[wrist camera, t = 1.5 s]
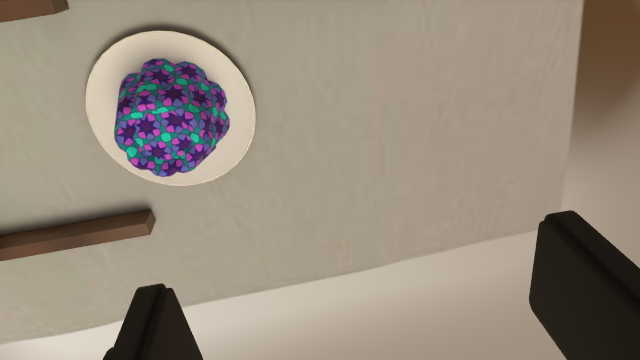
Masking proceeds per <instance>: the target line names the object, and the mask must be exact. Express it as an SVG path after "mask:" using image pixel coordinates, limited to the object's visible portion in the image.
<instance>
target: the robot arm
mask: <svg viewBox="0 0 640 360" xmlns="http://www.w3.org/2000/svg"><path fill="white" fill-rule="evenodd" d="M529 302H530V306H531V309H532V311H533V312H534V314H535V315H536V316H537V318H538V319H539V321H540V322H541V324H542V325H543V326H544V328H545V329H546V331H547V332H548V334H549V335H550V336H551V338H552V339H553V340H554V342H555V343H556V345H557V346H558V348H559V349H560V350H561V352H562V353H563V355H564V356H565V357H566V359H567V360H640V268H638V267H637V266H636V265H635V264H634V263H633V262H632V261H631V260H630V259H628V258H627V257H626V256H625V255H624V254H623V253H622V252H620V251H619V250H618V249H617V248H616V247H615V246H614V245H612V244H611V243H610V242H609V241H608V240H607V239H606V238H605V237H603V236H602V235H601V234H600V233H599V232H598V231H597V230H595V229H594V228H593V227H592V226H591V225H590V224H589V223H587V222H586V221H585V220H584V219H583V218H582V217H581V216H579V215H578V214H577V213H576V212H574V211H571V210H570V211H563V212H558V213H552V214H548V215H546V217H545V219H544V221H542V222H540V223H539V227H538V235H537V242H536V250H535V257H534V264H533V272H532V280H531V287H530V294H529ZM103 360H203V358H202V355H201V353H200V350H199V348H198V346H197V343H196V341H195V339H194V336H193V334H192V332H191V330H190V327H189V325H188V323H187V320H186V318H185V316H184V314H183V311H182V309H181V306H180V304H179V302H178V299H177V297H176V295H175V292H174V291H173V289H172V288H166V287H165V285H164V284H155V285H150V286H144V287H139V288H138V289H137V290H136V292H135V295H134V297H133V300H132V302H131V305H130V307H129V310H128V312H127V315H126V317H125V320H124V322H123V325H122V327H121V330H120V332H119V335H118V338H117V340H116V342H115V345H114V347H112V348H110V349H109V350H108V351H107V352H106V354H105V356H104V358H103Z"/></svg>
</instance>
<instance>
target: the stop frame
mask: <svg viewBox="0 0 640 360" xmlns="http://www.w3.org/2000/svg"><path fill="white" fill-rule="evenodd" d="M68 9H69V8H68V5H67V3H66V0H0V23H1V22H7V21H13V20H20V19H26V18H32V17H38V16H45V15H51V14H56V13H59V12H62V11H65V10H68ZM155 221H156V220H155V218H154V215H153V213H152V210H146V211H140V212H135V213H129V214H123V215H118V216H112V217H106V218H101V219H95V220H89V221H84V222H78V223H72V224H67V225H61V226H55V227H50V228H44V229H38V230H33V231H27V232H21V233H16V234H10V235H4V236H0V261H5V260H10V259H16V258H22V257H27V256H33V255H38V254H44V253H50V252H55V251H61V250H66V249H72V248H78V247H83V246H89V245H95V244H100V243H106V242H111V241H117V240H123V239H128V238H134V237H139V236H145V235H150V234H151V232H152V229H153V227H154V224H155Z"/></svg>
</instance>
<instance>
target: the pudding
mask: <svg viewBox="0 0 640 360" xmlns="http://www.w3.org/2000/svg"><path fill="white" fill-rule="evenodd" d="M86 110H87V115H88V120H89V123H90V125H91V127H92V130H93V132H94V134H95V136H96V138H97V139H98V141H99V142H100V144H101V146H102V147H103V148H104V149H105V150H106V151H107V153H108V154H109V155H110V156H111V157H112V158H113V159H114V160H115V161H117V162H118V163H119V164H120V165H121V166H123V167H124V168H126V169H127V170H129V171H131V172H132V173H134V174H136V175H138V176H140V177H142V178H145V179H147V180H150V181H153V182H157V183H160V184H166V185H173V186H189V185H195V184H201V183H205V182H208V181H211V180H214V179H216V178H218V177H220V176H222V175H224V174H225V173H226V172H228V171H229V170H230V169H232V168H233V167H234V166H235V165H236V164H237V163H238V162H239V161H240V160H241V159H242V158H243V156H244V154H245V153H246V151H247V150H248V148H249V146H250V143H251V141H252V138H253V135H254V129H255V124H256V119H255V106H254V101H253V96H252V94H251V91H250V89H249V86H248V84H247V82H246V80H245V79H244V77H243V75H242V74H241V72H240V71H239V70H238V68H237V67H236V66H235V65H234V64H233V63H232V61H231V60H230V59H229V58H227V57H226V56H225V55H224V54H223V53H222V52H220V51H219V50H218V49H216V48H215V47H213V46H211V45H210V44H208V43H206V42H205V41H203V40H200V39H198V38H195V37H193V36H190V35H187V34H182V33H178V32H173V31H149V32H142V33H138V34H135V35H132V36H129V37H126V38H124V39H122V40H121V41H119V42H117V43H115V44H114V45H112V46H111V47H110V48H109V49H108V50H107V51H105V52H104V53H103V54H102V55H101V57H100V58H99V59H98V61H97V62H96V64H95V65H94V67H93V69H92V71H91V74H90V76H89V78H88V82H87V88H86Z"/></svg>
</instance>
